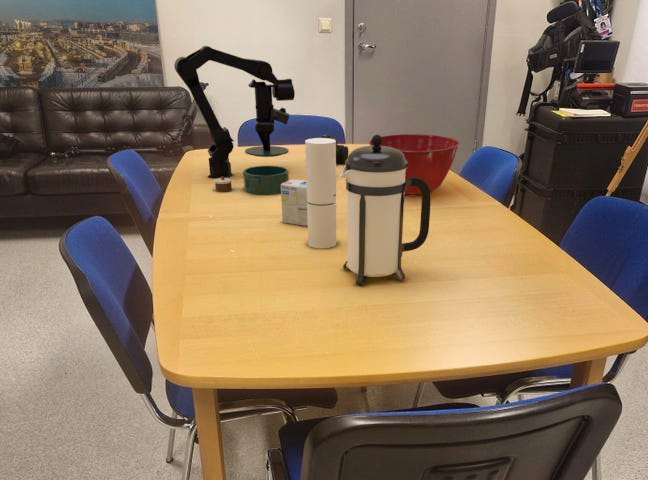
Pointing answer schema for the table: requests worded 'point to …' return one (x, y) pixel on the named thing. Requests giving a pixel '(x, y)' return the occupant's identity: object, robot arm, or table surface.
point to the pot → (265, 179)
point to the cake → (223, 184)
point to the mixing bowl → (424, 157)
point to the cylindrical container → (321, 192)
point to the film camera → (339, 151)
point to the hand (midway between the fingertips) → (266, 148)
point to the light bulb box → (294, 202)
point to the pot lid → (266, 151)
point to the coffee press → (379, 210)
